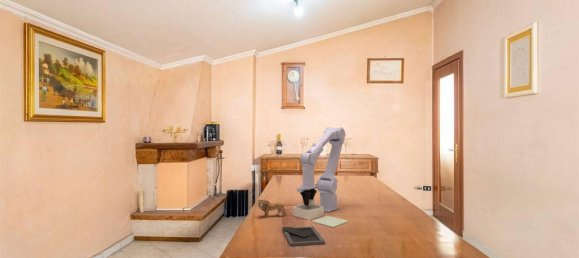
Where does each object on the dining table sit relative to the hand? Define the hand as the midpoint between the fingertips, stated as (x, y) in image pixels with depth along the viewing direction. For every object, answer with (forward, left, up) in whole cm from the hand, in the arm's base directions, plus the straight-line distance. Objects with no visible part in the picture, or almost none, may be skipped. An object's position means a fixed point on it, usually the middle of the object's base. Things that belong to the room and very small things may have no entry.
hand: (308, 204), depth 156 cm
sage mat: (+1, +14, -5) cm, 15 cm away
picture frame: (+25, +18, -6) cm, 31 cm away
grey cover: (0, 0, -2) cm, 2 cm away
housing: (0, 0, -5) cm, 5 cm away
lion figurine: (+14, -11, -6) cm, 19 cm away
